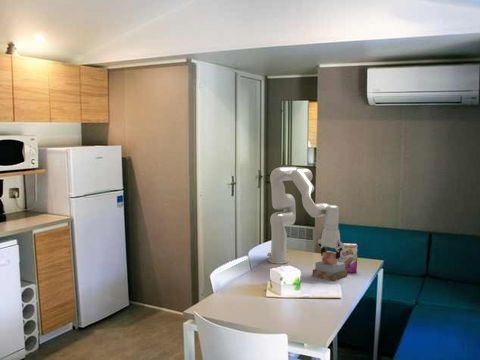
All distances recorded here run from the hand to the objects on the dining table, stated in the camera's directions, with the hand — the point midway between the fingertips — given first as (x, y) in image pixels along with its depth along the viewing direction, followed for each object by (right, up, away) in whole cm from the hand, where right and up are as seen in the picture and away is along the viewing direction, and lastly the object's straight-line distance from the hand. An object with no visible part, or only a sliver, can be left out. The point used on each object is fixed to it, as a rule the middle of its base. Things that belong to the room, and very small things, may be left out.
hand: (330, 256), depth 266 cm
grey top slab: (0, -8, +1) cm, 8 cm away
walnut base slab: (0, -12, +1) cm, 12 cm away
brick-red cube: (0, -4, 0) cm, 4 cm away
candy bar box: (+12, -11, +10) cm, 19 cm away
